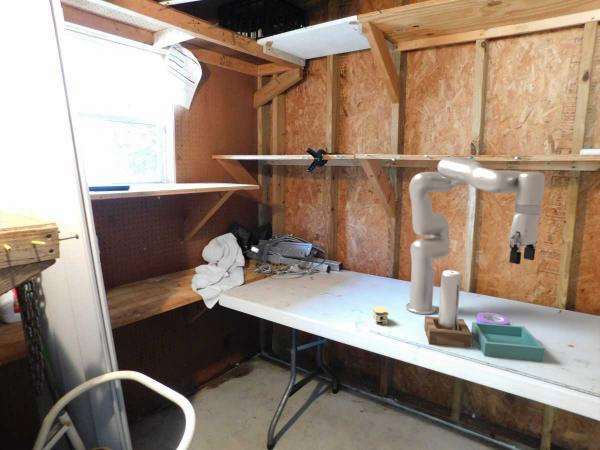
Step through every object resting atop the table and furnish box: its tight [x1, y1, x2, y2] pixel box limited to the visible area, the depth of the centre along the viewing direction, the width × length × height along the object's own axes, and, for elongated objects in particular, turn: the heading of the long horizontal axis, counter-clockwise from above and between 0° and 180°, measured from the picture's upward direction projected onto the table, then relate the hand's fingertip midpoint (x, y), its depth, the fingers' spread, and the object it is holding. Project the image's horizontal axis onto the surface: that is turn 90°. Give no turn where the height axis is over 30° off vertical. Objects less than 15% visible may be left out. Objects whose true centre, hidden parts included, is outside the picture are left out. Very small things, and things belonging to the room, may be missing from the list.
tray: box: [470, 321, 546, 362], centre depth 137 cm, size 18×18×4 cm
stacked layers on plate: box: [372, 305, 389, 325], centre depth 158 cm, size 10×9×6 cm
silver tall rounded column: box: [437, 269, 462, 330], centre depth 142 cm, size 6×6×25 cm
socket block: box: [423, 315, 473, 349], centre depth 144 cm, size 14×14×5 cm
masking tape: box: [476, 312, 511, 325], centre depth 155 cm, size 12×12×4 cm
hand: (521, 261), depth 130 cm, fingers open, 9 cm apart
